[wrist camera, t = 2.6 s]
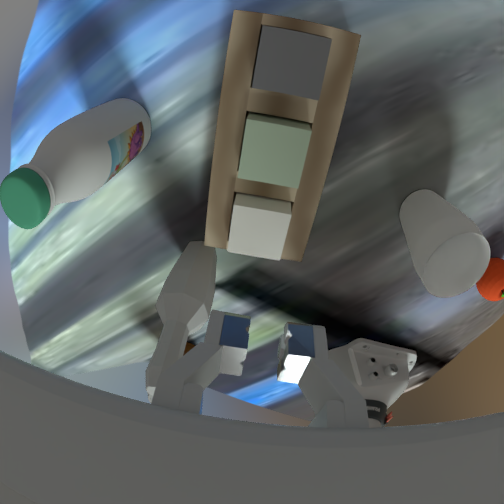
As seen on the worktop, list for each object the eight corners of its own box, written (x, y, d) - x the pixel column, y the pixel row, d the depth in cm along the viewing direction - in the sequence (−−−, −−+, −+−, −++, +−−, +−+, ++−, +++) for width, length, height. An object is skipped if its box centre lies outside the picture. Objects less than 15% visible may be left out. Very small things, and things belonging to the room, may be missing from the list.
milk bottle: (87, 124, 34) (-25, 197, 18) (126, 84, 31) (7, 132, 15) (123, 167, 37) (32, 263, 21) (165, 131, 34) (74, 214, 18)
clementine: (510, 251, 40) (530, 278, 34) (494, 282, 44) (511, 310, 38) (479, 247, 40) (500, 276, 34) (463, 281, 44) (479, 311, 38)
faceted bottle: (177, 266, 46) (129, 397, 28) (180, 230, 42) (122, 366, 25) (219, 275, 46) (188, 413, 29) (226, 240, 43) (192, 385, 25)
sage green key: (307, 122, 30) (311, 131, 27) (296, 173, 34) (298, 188, 31) (250, 111, 30) (246, 119, 27) (241, 164, 34) (237, 177, 30)
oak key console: (351, 36, 26) (360, 35, 23) (299, 243, 42) (301, 261, 39) (238, 14, 26) (234, 9, 23) (210, 228, 42) (204, 245, 39)
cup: (378, 204, 38) (409, 262, 28) (434, 167, 34) (482, 214, 24) (406, 250, 41) (435, 310, 32) (457, 218, 38) (497, 271, 28)
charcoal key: (325, 40, 25) (332, 39, 22) (313, 95, 29) (318, 100, 25) (264, 28, 25) (262, 25, 22) (254, 83, 28) (251, 87, 25)
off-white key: (290, 197, 36) (291, 214, 32) (279, 240, 39) (279, 260, 36) (237, 188, 35) (233, 204, 32) (231, 232, 39) (227, 251, 36)
